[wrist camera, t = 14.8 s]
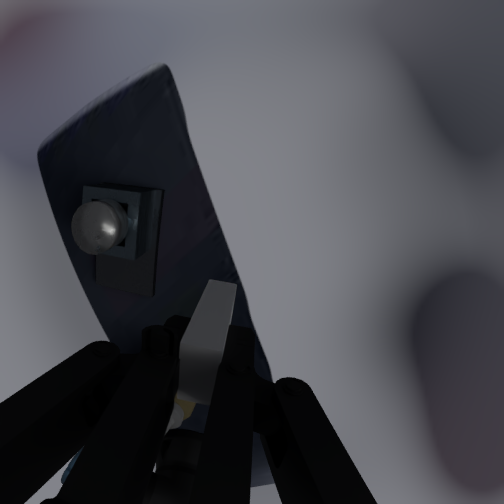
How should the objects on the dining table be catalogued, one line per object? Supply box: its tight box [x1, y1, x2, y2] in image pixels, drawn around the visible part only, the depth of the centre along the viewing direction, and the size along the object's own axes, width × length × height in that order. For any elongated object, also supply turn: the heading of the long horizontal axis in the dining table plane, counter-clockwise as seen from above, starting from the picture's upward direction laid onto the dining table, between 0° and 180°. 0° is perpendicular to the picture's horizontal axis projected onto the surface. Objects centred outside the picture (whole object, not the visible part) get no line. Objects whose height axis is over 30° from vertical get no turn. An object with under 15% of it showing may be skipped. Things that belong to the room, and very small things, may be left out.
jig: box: [80, 182, 165, 297], centre depth 40 cm, size 16×10×7 cm, turn 170°
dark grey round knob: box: [71, 199, 128, 255], centre depth 36 cm, size 6×6×10 cm
